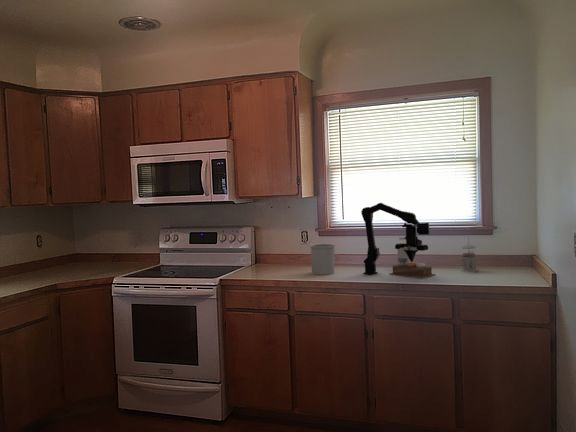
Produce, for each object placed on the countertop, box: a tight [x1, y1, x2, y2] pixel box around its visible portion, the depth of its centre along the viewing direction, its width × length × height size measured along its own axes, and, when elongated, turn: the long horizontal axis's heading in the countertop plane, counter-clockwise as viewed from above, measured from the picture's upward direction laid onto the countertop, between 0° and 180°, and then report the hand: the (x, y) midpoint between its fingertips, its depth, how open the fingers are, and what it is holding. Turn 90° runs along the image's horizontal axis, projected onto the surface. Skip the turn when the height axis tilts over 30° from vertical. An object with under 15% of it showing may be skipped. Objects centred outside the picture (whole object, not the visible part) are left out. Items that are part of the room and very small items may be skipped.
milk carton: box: [396, 237, 412, 265], centre depth 302 cm, size 7×7×19 cm
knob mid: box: [407, 261, 417, 267], centre depth 279 cm, size 5×5×5 cm
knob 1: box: [397, 257, 407, 266], centre depth 283 cm, size 5×5×5 cm
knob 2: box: [416, 262, 427, 268], centre depth 274 cm, size 5×5×5 cm
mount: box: [388, 264, 436, 279], centre depth 279 cm, size 12×23×5 cm, turn 43°
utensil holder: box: [310, 242, 335, 276], centre depth 296 cm, size 15×15×18 cm
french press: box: [460, 227, 479, 273], centre depth 284 cm, size 10×12×25 cm
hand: (411, 261), depth 278 cm, fingers closed
